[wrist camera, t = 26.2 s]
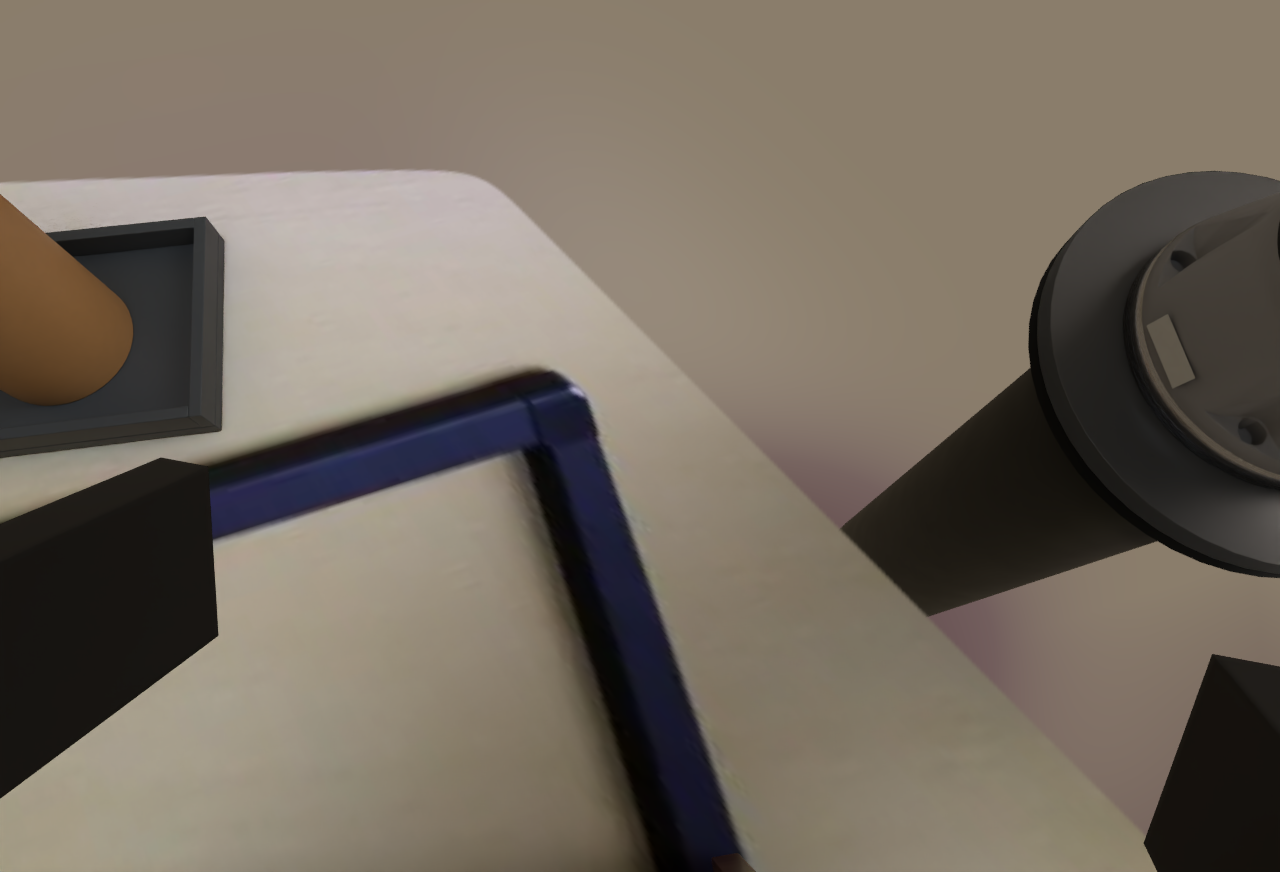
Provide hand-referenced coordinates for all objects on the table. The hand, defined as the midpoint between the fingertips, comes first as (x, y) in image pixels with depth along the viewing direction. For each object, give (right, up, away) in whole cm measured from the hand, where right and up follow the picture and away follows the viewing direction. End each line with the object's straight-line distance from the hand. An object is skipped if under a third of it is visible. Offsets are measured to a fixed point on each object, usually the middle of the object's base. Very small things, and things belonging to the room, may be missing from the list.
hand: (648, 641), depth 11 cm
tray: (-30, +7, +32) cm, 45 cm away
